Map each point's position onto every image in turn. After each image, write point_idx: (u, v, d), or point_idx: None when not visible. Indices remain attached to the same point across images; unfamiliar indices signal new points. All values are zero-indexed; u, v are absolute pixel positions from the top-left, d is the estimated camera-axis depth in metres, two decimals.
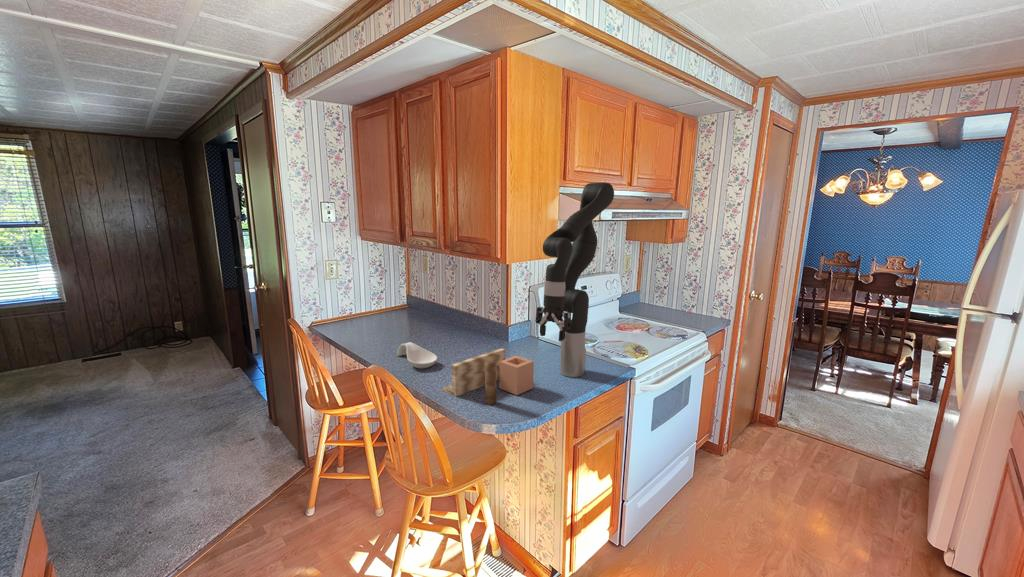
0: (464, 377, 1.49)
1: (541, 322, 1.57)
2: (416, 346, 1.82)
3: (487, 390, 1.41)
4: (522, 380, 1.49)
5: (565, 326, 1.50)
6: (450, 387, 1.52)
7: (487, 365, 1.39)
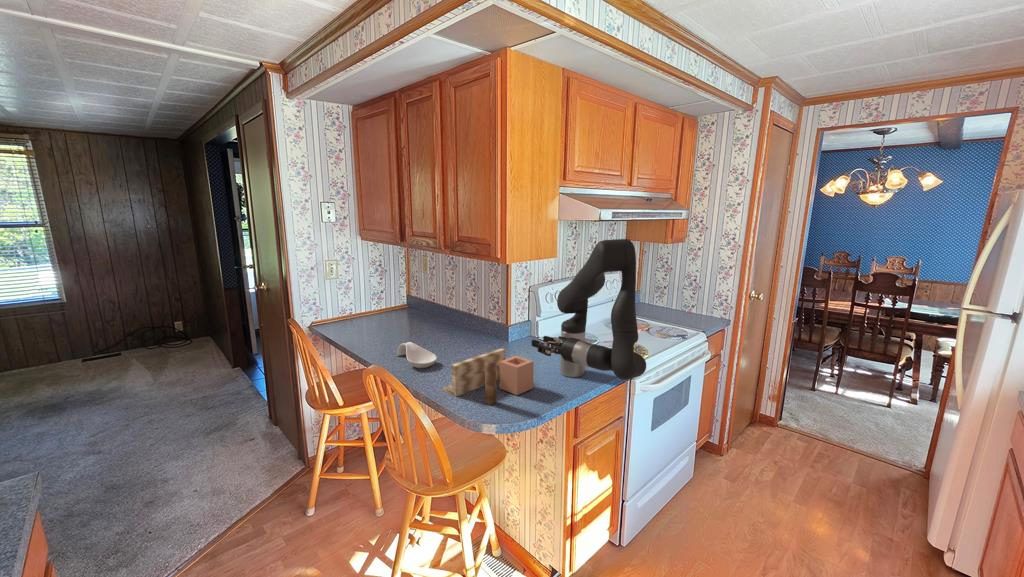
0: (464, 377, 1.49)
1: None
2: (416, 346, 1.82)
3: (487, 390, 1.41)
4: (522, 380, 1.49)
5: None
6: (450, 387, 1.52)
7: (487, 365, 1.39)
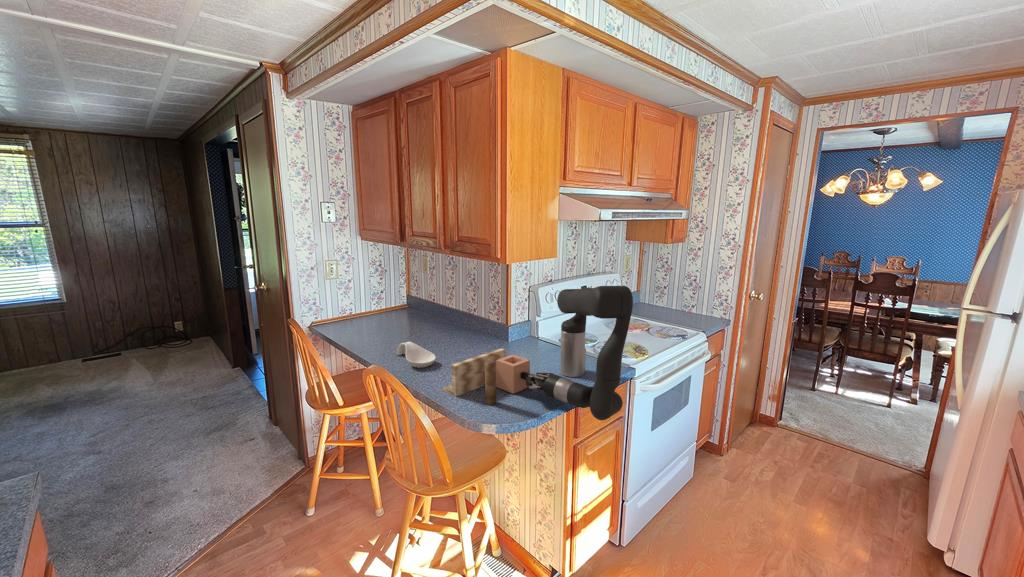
0: (464, 377, 1.49)
1: None
2: (415, 345, 1.83)
3: (487, 390, 1.41)
4: (518, 379, 1.50)
5: None
6: (450, 387, 1.52)
7: (487, 365, 1.39)
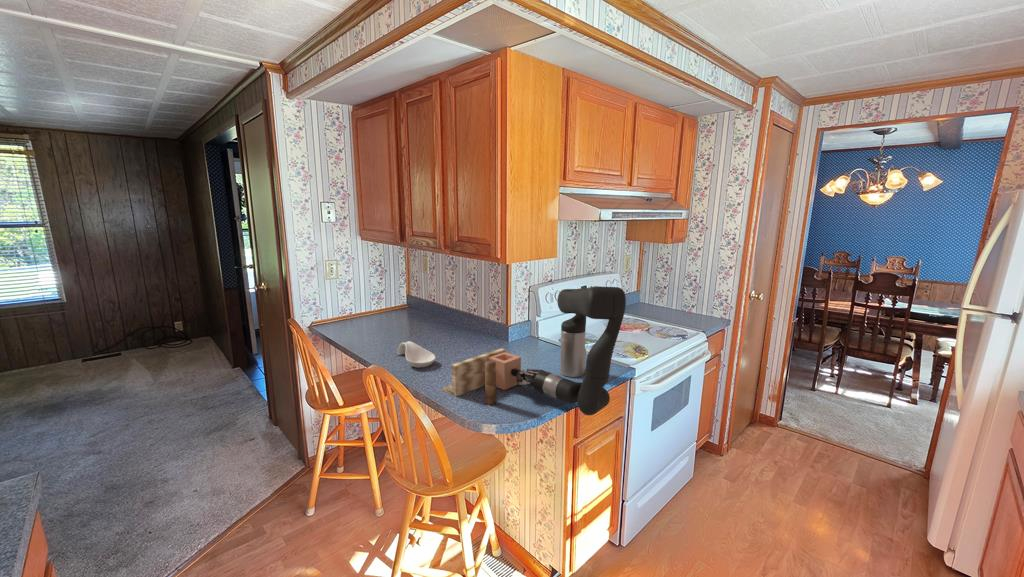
0: (464, 377, 1.49)
1: None
2: (415, 345, 1.83)
3: (487, 390, 1.41)
4: (509, 376, 1.53)
5: None
6: (450, 387, 1.52)
7: (487, 365, 1.39)
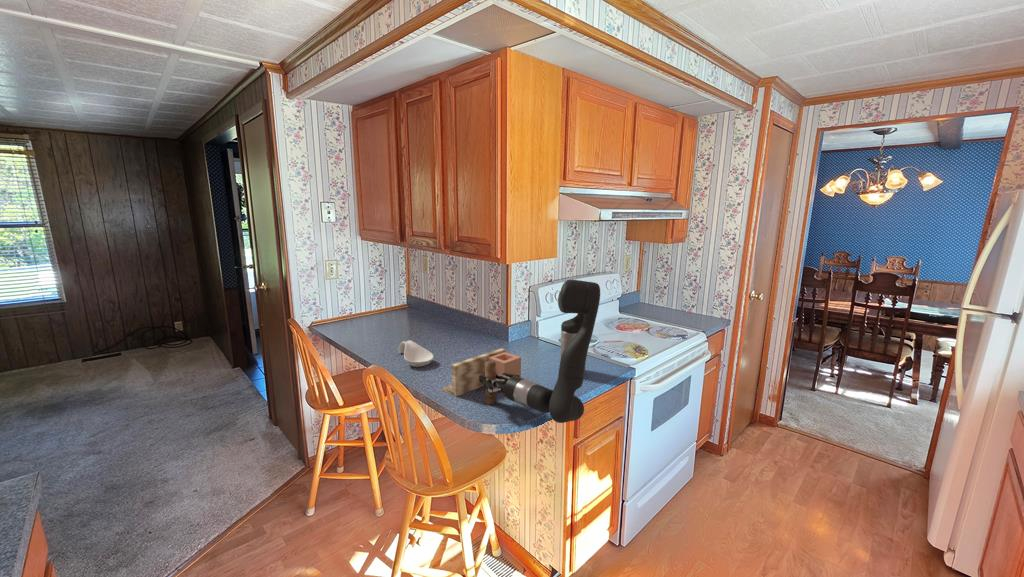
0: (464, 377, 1.49)
1: None
2: (415, 344, 1.84)
3: None
4: None
5: None
6: (450, 387, 1.52)
7: (487, 365, 1.39)
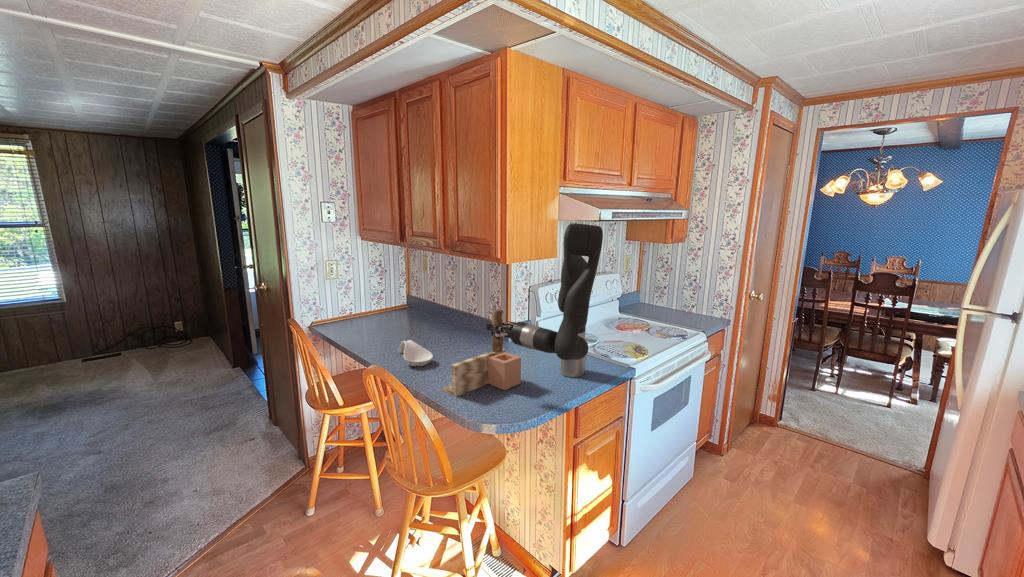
0: (464, 377, 1.49)
1: None
2: (415, 344, 1.85)
3: (494, 338, 1.45)
4: (509, 376, 1.53)
5: None
6: (450, 387, 1.52)
7: (494, 313, 1.44)
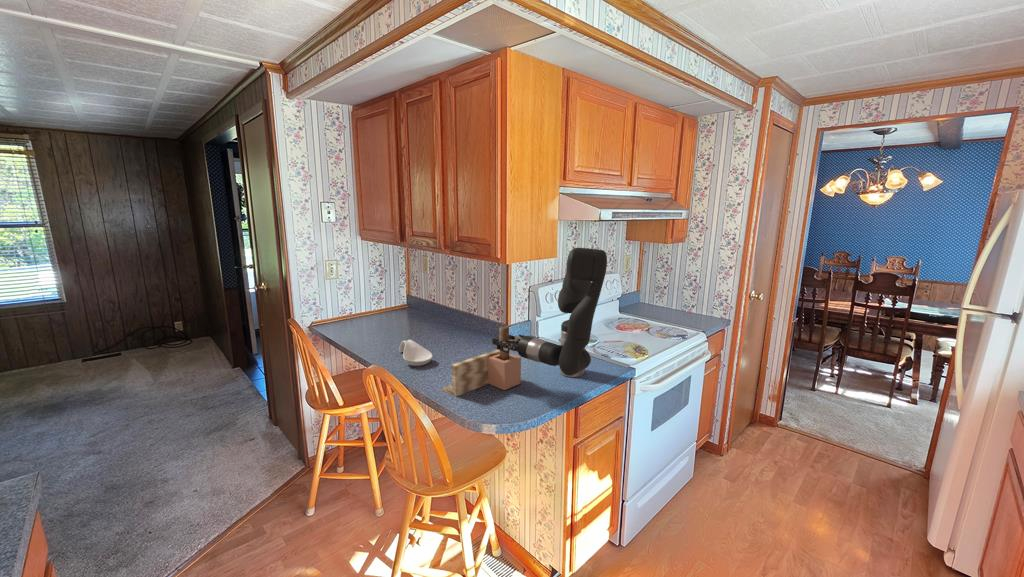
0: (464, 377, 1.49)
1: None
2: (415, 344, 1.85)
3: (501, 353, 1.54)
4: (509, 376, 1.53)
5: None
6: (450, 387, 1.52)
7: (501, 330, 1.53)
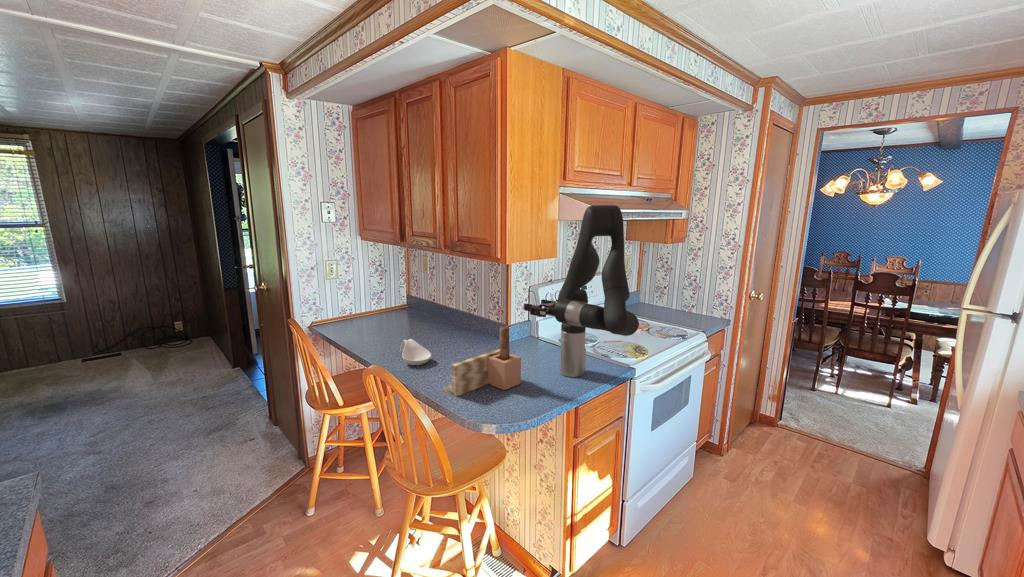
0: (464, 377, 1.49)
1: None
2: (415, 343, 1.86)
3: (501, 353, 1.54)
4: (509, 376, 1.53)
5: None
6: (450, 387, 1.52)
7: (501, 330, 1.52)
